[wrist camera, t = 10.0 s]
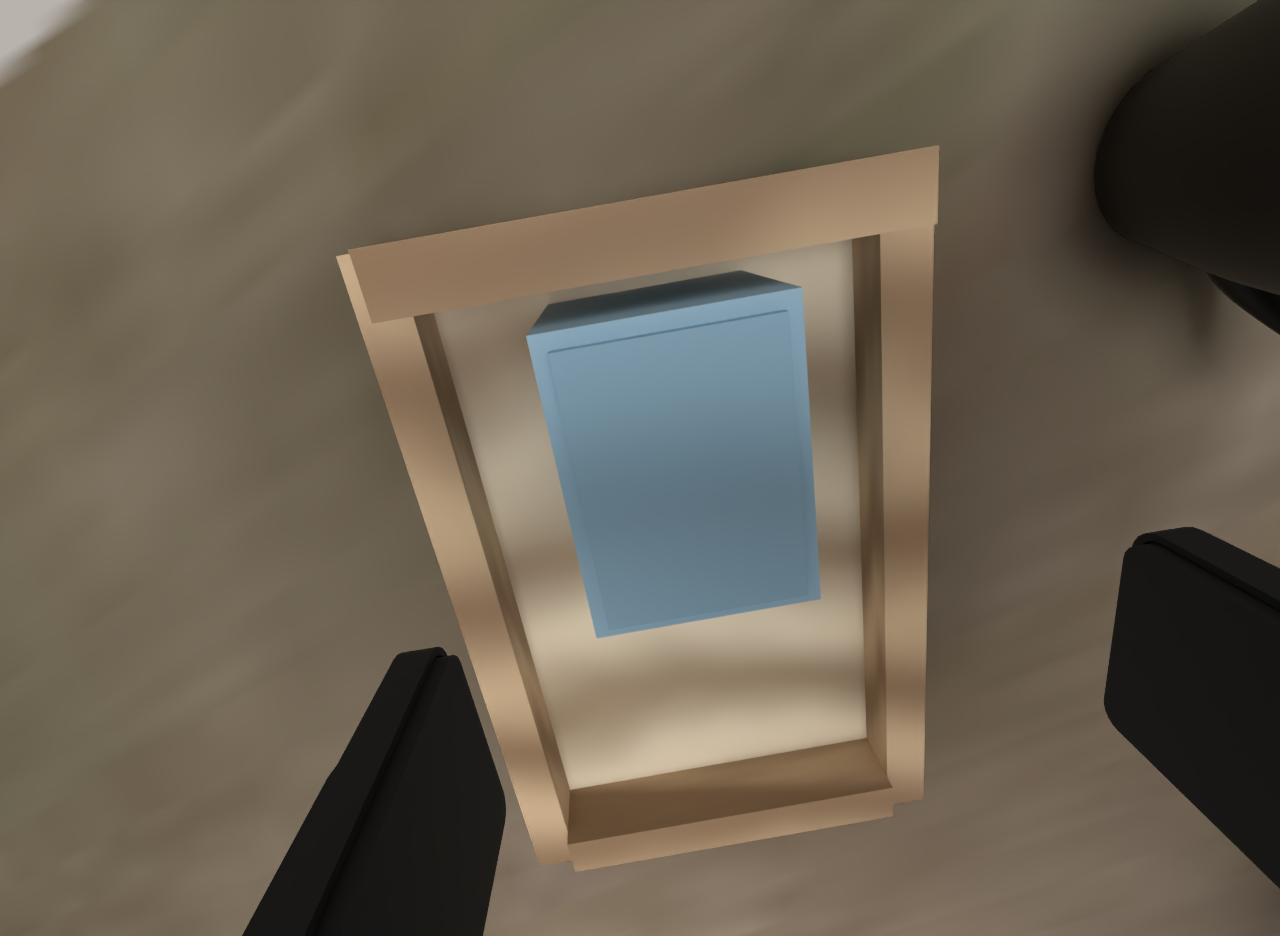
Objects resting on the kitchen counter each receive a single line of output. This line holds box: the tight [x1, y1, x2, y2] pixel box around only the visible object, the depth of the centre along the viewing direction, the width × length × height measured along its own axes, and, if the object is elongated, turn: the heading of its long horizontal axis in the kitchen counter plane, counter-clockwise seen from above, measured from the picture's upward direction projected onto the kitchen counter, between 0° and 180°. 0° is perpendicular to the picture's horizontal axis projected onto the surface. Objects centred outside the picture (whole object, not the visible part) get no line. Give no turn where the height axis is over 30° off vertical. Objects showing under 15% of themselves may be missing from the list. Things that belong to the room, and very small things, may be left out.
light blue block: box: [526, 270, 821, 638], centre depth 17 cm, size 8×6×6 cm
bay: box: [336, 145, 939, 872], centre depth 20 cm, size 24×16×6 cm, turn 9°
